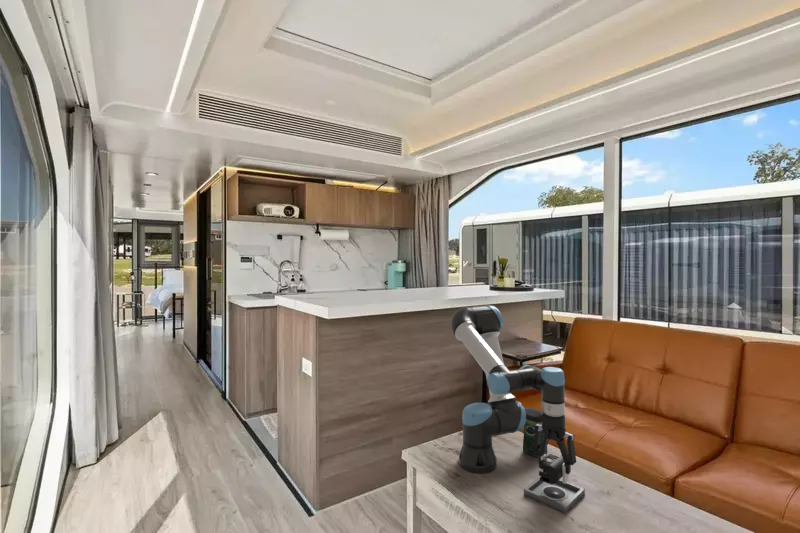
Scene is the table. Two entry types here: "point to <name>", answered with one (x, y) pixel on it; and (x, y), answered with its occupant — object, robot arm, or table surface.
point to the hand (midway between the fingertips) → (554, 477)
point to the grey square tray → (555, 494)
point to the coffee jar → (532, 430)
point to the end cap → (551, 469)
